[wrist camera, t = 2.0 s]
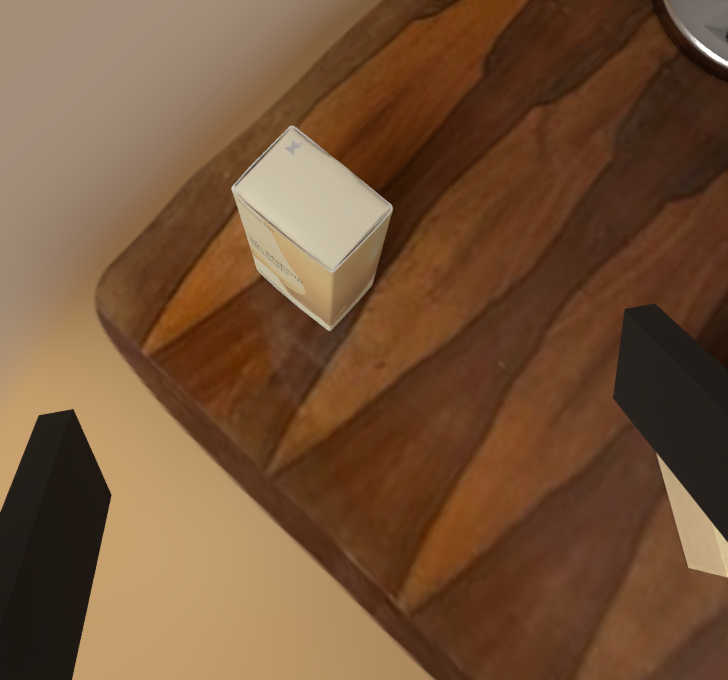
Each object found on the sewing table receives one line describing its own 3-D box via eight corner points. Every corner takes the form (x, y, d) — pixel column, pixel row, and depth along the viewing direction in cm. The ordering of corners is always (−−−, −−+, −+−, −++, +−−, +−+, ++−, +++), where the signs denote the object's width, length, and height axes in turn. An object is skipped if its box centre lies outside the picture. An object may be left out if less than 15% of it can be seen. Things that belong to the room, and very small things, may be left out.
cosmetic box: (254, 271, 41) (220, 184, 29) (301, 221, 42) (287, 117, 30) (333, 337, 40) (332, 276, 28) (379, 285, 41) (396, 205, 29)
